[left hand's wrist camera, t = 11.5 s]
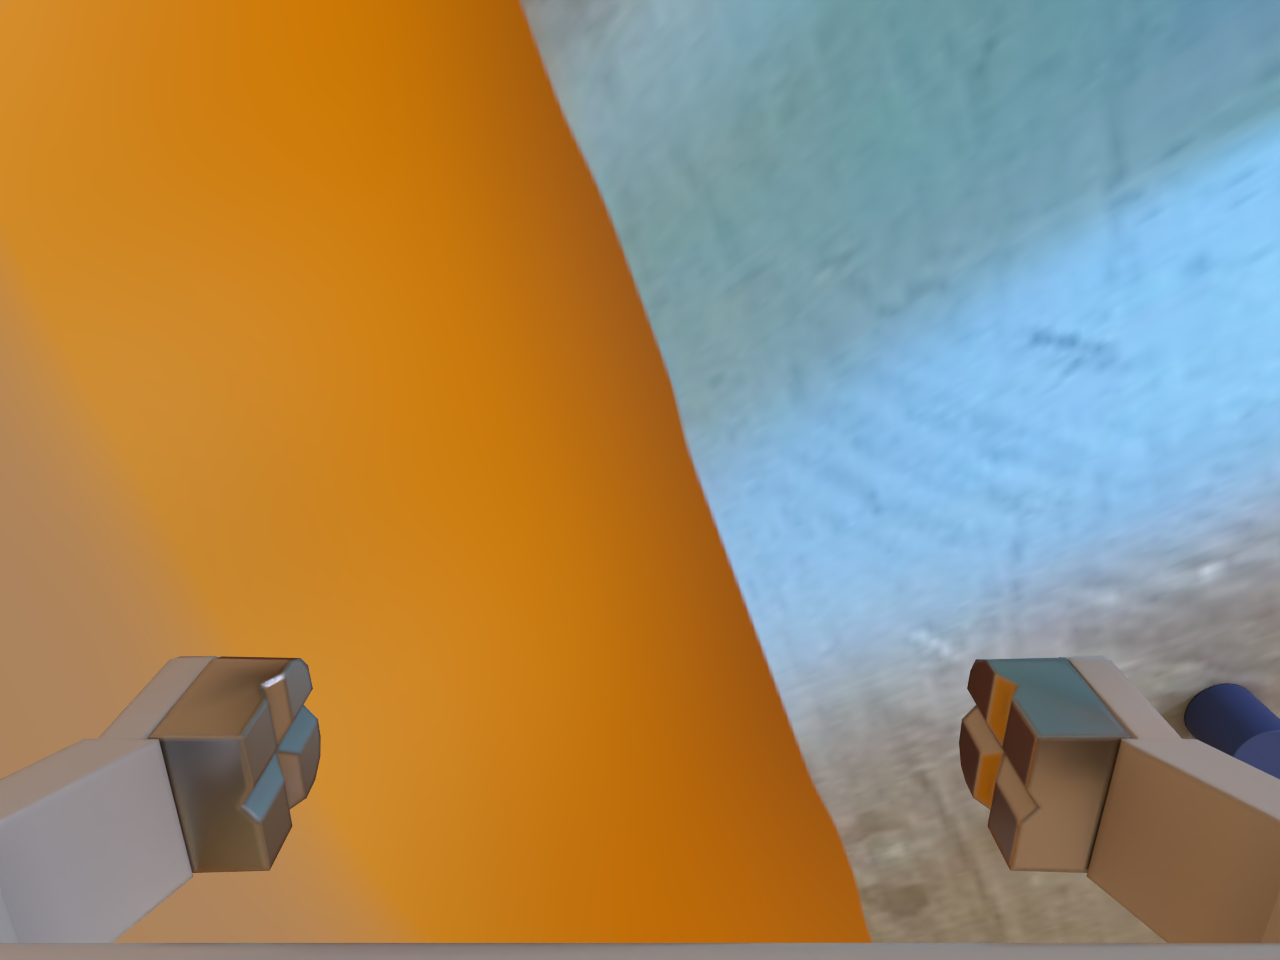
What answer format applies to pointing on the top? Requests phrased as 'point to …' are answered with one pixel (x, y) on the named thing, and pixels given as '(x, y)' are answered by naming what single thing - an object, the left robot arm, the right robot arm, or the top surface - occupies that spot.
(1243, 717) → the can
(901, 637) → the top surface
